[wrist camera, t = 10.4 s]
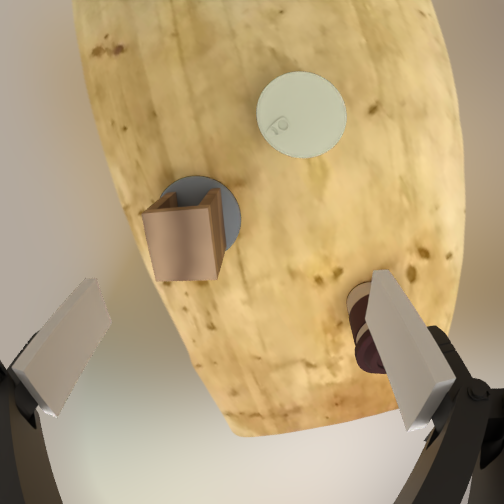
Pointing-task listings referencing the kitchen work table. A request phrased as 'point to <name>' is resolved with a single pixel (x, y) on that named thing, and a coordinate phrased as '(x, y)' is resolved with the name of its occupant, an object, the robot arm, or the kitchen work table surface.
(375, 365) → the coffee cup
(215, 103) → the kitchen work table surface
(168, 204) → the wooden stool
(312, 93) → the can
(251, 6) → the kitchen work table surface
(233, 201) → the rubber mat
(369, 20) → the kitchen work table surface
